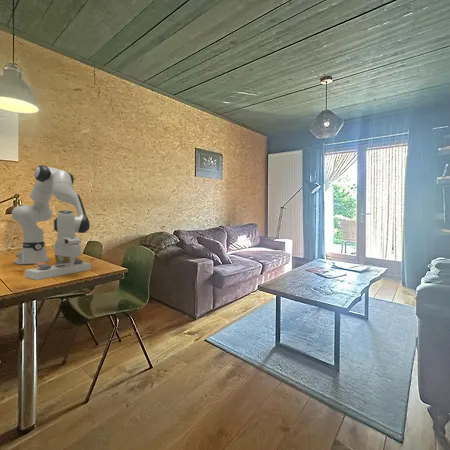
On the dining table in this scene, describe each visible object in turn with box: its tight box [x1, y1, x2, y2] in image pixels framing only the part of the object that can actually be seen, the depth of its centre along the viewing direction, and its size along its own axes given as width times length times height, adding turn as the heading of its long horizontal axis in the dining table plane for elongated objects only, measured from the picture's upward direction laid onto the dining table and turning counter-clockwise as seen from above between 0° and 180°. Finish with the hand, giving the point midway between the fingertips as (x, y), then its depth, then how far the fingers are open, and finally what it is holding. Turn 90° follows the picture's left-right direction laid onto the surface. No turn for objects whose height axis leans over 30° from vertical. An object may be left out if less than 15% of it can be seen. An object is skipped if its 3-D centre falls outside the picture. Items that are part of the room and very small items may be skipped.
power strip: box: [24, 261, 92, 281], centre depth 153 cm, size 12×34×4 cm, turn 150°
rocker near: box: [34, 262, 52, 269], centre depth 143 cm, size 8×4×1 cm, turn 60°
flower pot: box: [54, 254, 70, 265], centre depth 170 cm, size 9×9×9 cm
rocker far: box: [69, 257, 84, 264], centre depth 159 cm, size 8×4×1 cm, turn 60°
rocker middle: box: [52, 260, 68, 266], centre depth 151 cm, size 8×4×1 cm, turn 60°
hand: (67, 264), depth 148 cm, fingers open, 8 cm apart
